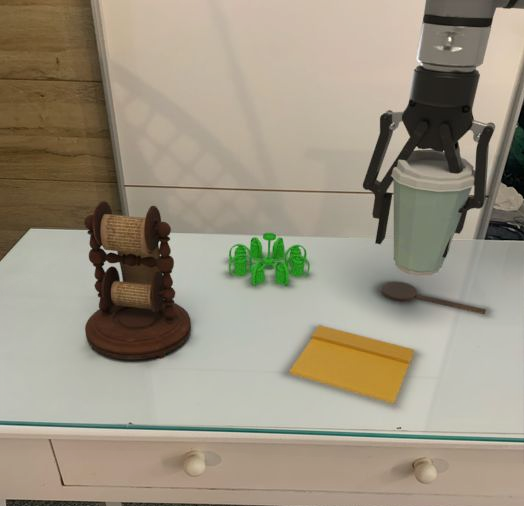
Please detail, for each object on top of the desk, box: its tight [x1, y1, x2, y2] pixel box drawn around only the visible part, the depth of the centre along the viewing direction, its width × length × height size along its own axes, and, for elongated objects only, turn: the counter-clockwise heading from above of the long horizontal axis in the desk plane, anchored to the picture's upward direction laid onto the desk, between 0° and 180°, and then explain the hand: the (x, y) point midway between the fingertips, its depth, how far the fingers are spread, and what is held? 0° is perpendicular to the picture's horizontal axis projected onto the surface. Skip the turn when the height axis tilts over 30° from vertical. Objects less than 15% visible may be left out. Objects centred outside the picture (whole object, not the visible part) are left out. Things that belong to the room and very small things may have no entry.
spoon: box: [380, 280, 487, 315], centre depth 91 cm, size 17×6×1 cm, turn 66°
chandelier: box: [228, 232, 311, 287], centre depth 97 cm, size 15×15×7 cm
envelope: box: [289, 324, 415, 405], centre depth 76 cm, size 14×12×2 cm
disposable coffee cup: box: [391, 149, 475, 277], centre depth 75 cm, size 11×11×15 cm
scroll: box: [83, 200, 192, 360], centre depth 75 cm, size 15×15×20 cm
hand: (411, 246), depth 78 cm, fingers open, 8 cm apart
